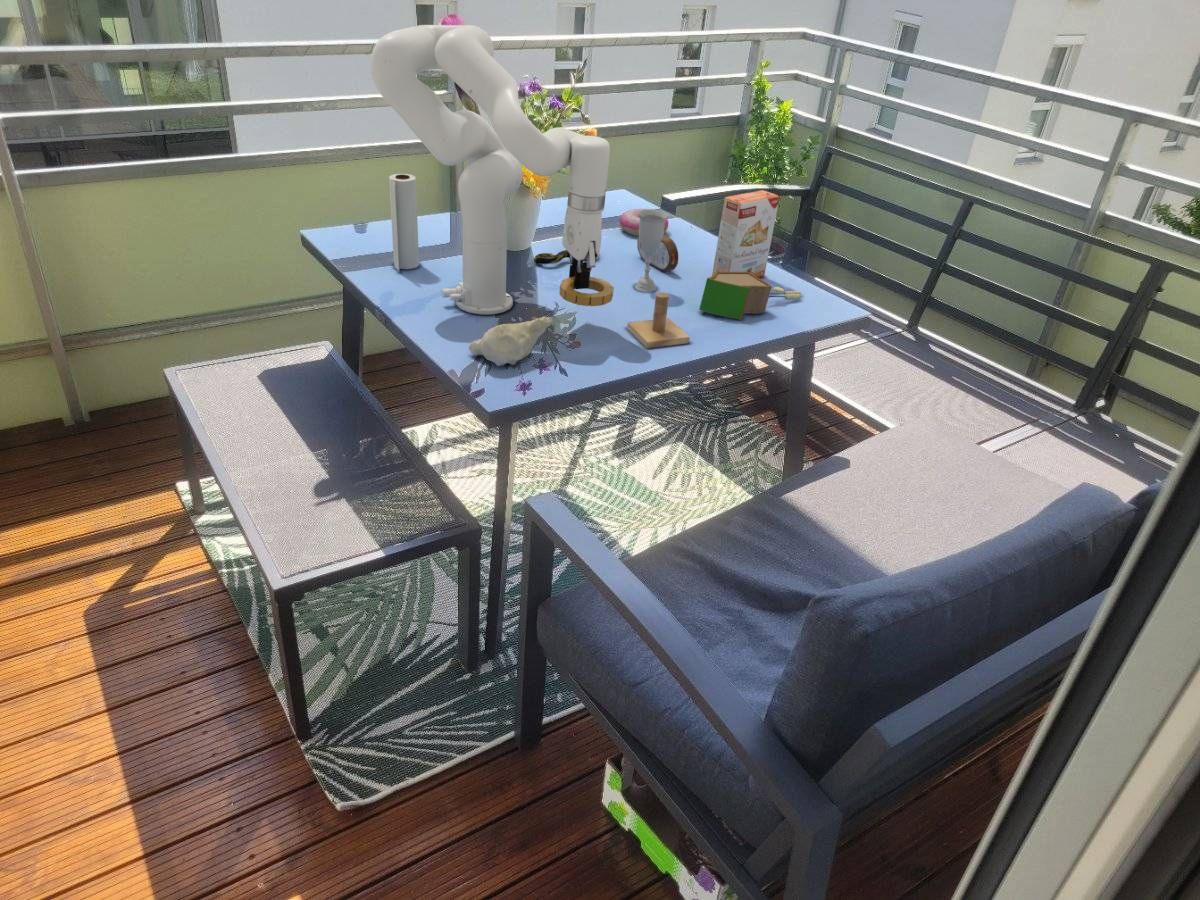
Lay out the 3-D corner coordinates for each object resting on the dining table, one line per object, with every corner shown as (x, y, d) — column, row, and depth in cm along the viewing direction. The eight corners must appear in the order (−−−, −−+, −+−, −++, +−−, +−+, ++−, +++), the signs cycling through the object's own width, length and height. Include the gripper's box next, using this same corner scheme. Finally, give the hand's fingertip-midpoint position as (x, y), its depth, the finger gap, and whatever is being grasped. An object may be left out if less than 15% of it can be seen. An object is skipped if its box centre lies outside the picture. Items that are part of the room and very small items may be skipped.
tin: (677, 274, 226) (681, 242, 222) (667, 276, 225) (671, 243, 220) (643, 254, 237) (646, 222, 232) (633, 256, 235) (636, 224, 231)
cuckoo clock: (783, 300, 225) (685, 301, 210) (791, 270, 222) (692, 269, 207) (814, 318, 217) (715, 320, 202) (824, 287, 213) (723, 287, 198)
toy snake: (538, 248, 220) (526, 237, 228) (537, 266, 222) (525, 255, 231) (607, 246, 227) (592, 236, 235) (605, 264, 229) (591, 253, 237)
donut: (618, 237, 246) (619, 219, 244) (619, 221, 257) (620, 204, 255) (667, 241, 246) (669, 223, 244) (666, 225, 258) (668, 208, 255)
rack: (646, 348, 190) (651, 306, 184) (626, 328, 197) (630, 287, 192) (688, 343, 193) (694, 301, 188) (667, 323, 201) (672, 283, 196)
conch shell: (467, 381, 176) (524, 349, 169) (453, 346, 177) (510, 313, 169) (512, 375, 189) (567, 345, 182) (498, 343, 190) (553, 312, 182)
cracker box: (728, 288, 221) (741, 203, 210) (710, 279, 225) (722, 196, 214) (766, 277, 229) (781, 195, 218) (748, 269, 233) (762, 188, 222)
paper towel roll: (409, 259, 222) (405, 171, 211) (424, 266, 219) (421, 177, 207) (384, 265, 218) (379, 175, 206) (399, 273, 214) (394, 182, 203)
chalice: (657, 295, 214) (665, 221, 204) (628, 291, 215) (635, 217, 205) (661, 284, 220) (669, 211, 210) (633, 280, 221) (641, 207, 211)
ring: (571, 308, 184) (572, 299, 183) (552, 286, 193) (553, 277, 191) (620, 304, 188) (621, 295, 187) (599, 283, 197) (600, 274, 196)
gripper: (554, 188, 188) (548, 272, 198) (584, 214, 176) (576, 302, 186) (588, 187, 191) (580, 270, 201) (619, 213, 179) (609, 299, 189)
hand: (578, 284), depth 194 cm, fingers closed on ring, 2 cm apart
